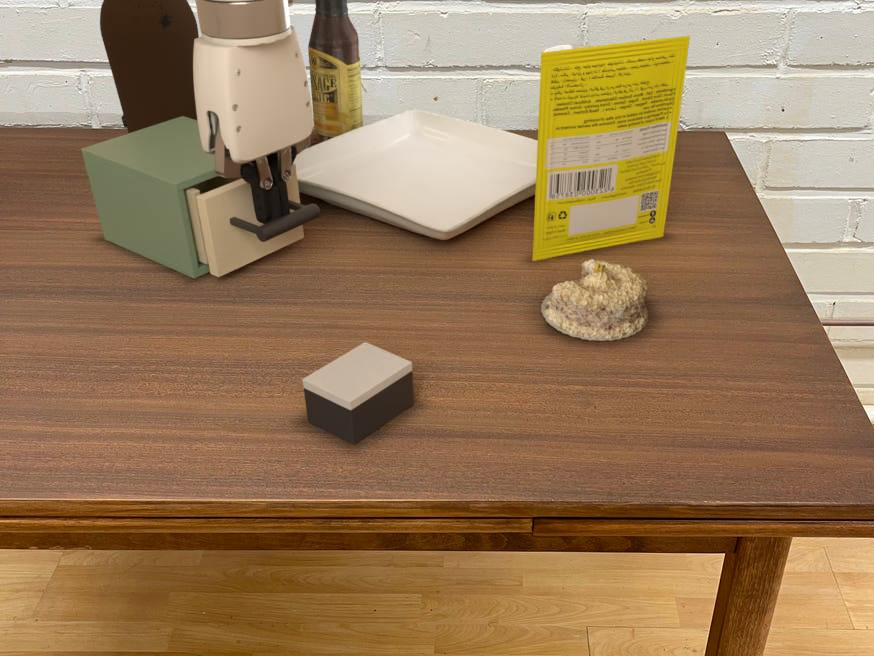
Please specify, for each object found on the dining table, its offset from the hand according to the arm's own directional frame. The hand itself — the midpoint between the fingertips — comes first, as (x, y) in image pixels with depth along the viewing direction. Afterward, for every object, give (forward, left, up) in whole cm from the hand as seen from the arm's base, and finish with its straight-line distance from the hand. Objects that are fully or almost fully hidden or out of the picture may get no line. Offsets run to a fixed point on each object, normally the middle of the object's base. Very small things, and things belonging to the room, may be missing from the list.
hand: (274, 222), depth 92 cm
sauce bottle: (+30, +21, -5) cm, 37 cm away
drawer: (0, +6, -4) cm, 8 cm away
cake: (+12, -29, -5) cm, 32 cm away
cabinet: (0, +13, -5) cm, 14 cm away
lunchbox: (-13, -23, -5) cm, 27 cm away
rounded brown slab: (+13, +33, -5) cm, 35 cm away
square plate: (+25, +2, -5) cm, 25 cm away
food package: (+24, -22, -5) cm, 33 cm away
